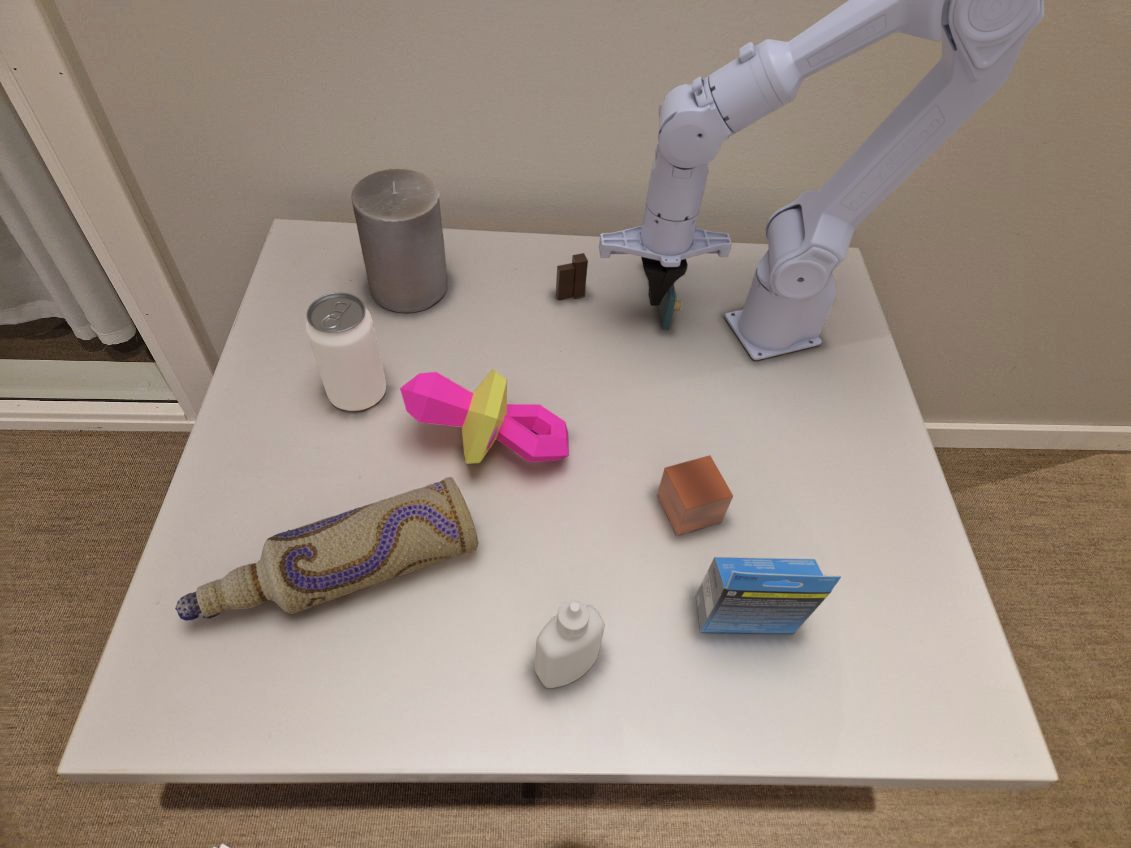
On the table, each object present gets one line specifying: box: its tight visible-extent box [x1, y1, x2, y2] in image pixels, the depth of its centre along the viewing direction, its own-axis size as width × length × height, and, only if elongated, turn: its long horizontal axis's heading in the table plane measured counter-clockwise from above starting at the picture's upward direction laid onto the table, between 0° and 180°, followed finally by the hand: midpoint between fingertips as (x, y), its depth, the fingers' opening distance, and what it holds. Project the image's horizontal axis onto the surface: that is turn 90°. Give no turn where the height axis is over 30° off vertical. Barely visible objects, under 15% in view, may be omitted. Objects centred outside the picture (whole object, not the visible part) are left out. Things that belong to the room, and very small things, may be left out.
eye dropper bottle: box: [534, 599, 606, 689], centre depth 59 cm, size 4×6×12 cm
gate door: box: [658, 283, 682, 330], centre depth 89 cm, size 2×10×5 cm, turn 1°
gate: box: [555, 252, 589, 301], centre depth 92 cm, size 2×17×6 cm, turn 117°
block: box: [656, 455, 734, 536], centre depth 72 cm, size 5×5×5 cm
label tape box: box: [695, 556, 842, 634], centre depth 62 cm, size 9×4×12 cm, turn 90°
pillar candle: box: [351, 168, 448, 314], centre depth 85 cm, size 10×10×15 cm
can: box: [305, 291, 387, 412], centre depth 76 cm, size 6×6×12 cm
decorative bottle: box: [174, 476, 479, 622], centre depth 65 cm, size 26×8×7 cm, turn 113°
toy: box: [399, 368, 570, 465], centre depth 74 cm, size 10×18×10 cm, turn 82°
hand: (653, 300), depth 88 cm, fingers closed
